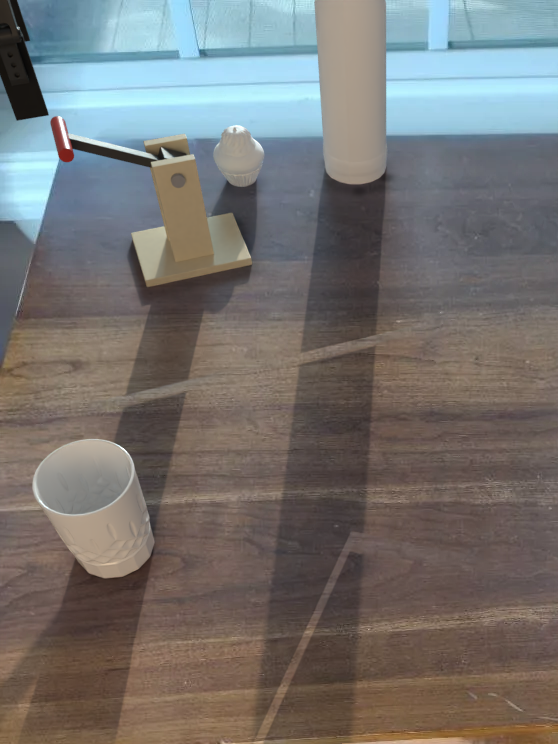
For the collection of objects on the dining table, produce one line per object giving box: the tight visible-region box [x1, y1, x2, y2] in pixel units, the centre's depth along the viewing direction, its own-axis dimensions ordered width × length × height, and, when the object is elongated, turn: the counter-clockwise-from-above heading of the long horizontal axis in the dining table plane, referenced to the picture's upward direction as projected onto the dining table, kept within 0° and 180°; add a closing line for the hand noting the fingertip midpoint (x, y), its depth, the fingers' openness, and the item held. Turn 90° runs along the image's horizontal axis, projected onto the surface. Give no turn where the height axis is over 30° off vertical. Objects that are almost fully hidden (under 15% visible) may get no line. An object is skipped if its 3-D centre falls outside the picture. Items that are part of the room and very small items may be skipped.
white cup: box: [31, 438, 155, 579], centre depth 72 cm, size 8×8×10 cm
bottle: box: [313, 0, 388, 185], centre depth 97 cm, size 8×8×30 cm
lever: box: [49, 115, 187, 169], centre depth 88 cm, size 13×6×2 cm, turn 110°
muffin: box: [212, 124, 265, 188], centre depth 105 cm, size 6×6×7 cm
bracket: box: [130, 133, 253, 288], centre depth 94 cm, size 12×9×13 cm
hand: (23, 77), depth 78 cm, fingers open, 13 cm apart
